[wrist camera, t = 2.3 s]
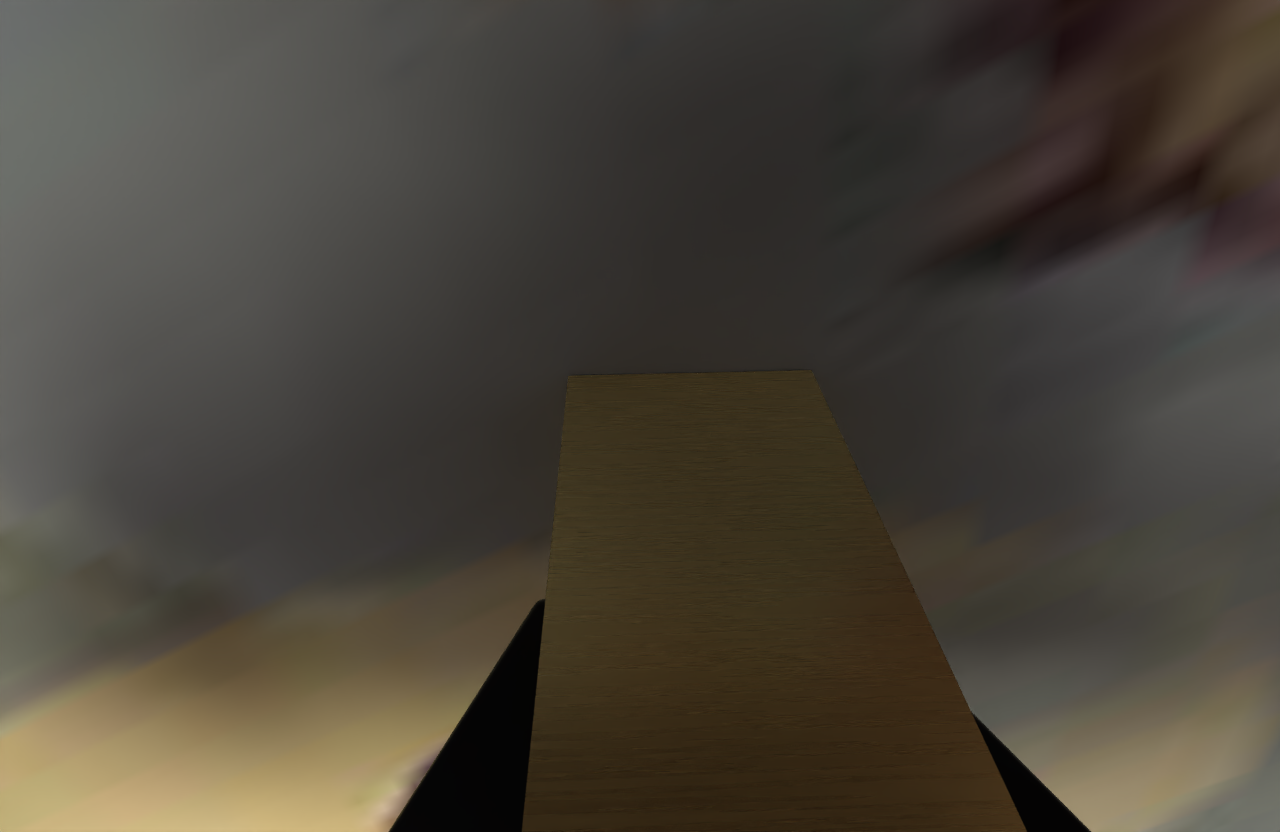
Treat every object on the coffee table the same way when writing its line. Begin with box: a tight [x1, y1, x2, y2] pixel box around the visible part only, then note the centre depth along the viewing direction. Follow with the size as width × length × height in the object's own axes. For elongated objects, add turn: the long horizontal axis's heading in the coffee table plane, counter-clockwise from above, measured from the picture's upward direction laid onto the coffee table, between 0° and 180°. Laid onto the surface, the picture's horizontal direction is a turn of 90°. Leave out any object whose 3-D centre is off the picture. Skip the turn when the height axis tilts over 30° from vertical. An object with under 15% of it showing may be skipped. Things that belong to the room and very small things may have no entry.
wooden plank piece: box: [522, 370, 1027, 832], centre depth 7 cm, size 5×2×5 cm, turn 0°
